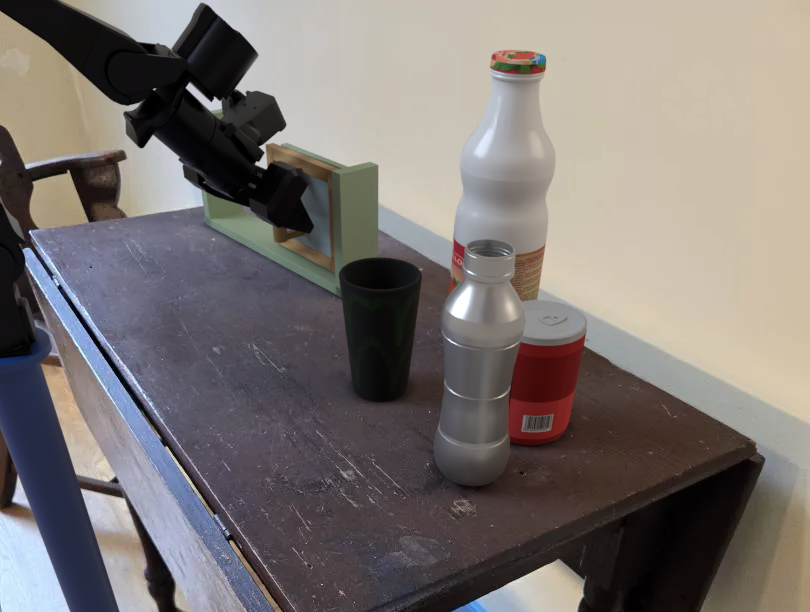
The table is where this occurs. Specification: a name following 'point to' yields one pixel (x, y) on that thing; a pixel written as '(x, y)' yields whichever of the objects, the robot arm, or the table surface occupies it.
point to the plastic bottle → (479, 365)
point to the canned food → (545, 372)
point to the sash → (309, 208)
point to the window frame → (350, 222)
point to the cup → (380, 324)
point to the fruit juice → (508, 172)
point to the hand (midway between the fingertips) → (289, 219)
